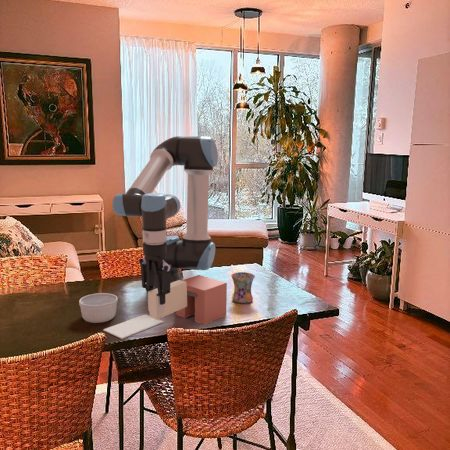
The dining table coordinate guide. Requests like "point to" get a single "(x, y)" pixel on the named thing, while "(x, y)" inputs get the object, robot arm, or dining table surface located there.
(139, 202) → the robot arm
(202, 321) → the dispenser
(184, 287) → the cream white block
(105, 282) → the dining table surface
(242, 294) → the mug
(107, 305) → the ramekin
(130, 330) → the mat
